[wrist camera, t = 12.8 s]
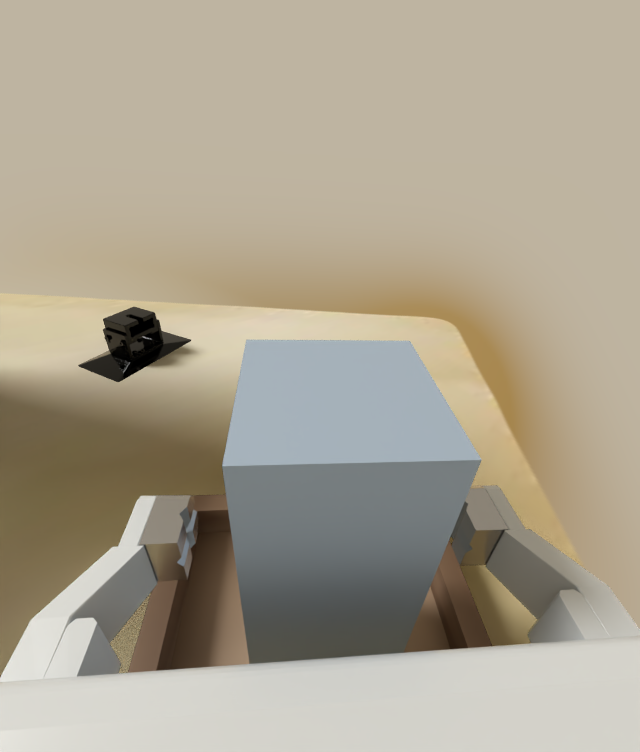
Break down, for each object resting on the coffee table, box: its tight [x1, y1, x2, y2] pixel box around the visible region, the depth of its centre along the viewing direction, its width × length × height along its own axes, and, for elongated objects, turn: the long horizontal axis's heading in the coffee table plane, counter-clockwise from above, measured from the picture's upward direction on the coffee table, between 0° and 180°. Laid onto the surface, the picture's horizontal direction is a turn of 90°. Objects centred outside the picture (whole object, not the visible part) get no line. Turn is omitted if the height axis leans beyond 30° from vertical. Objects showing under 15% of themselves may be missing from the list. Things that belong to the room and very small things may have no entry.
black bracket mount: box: [78, 307, 191, 382], centre depth 37 cm, size 12×7×5 cm, turn 154°
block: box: [222, 340, 481, 664], centre depth 12 cm, size 4×4×14 cm
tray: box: [128, 495, 492, 673], centre depth 15 cm, size 14×14×2 cm
